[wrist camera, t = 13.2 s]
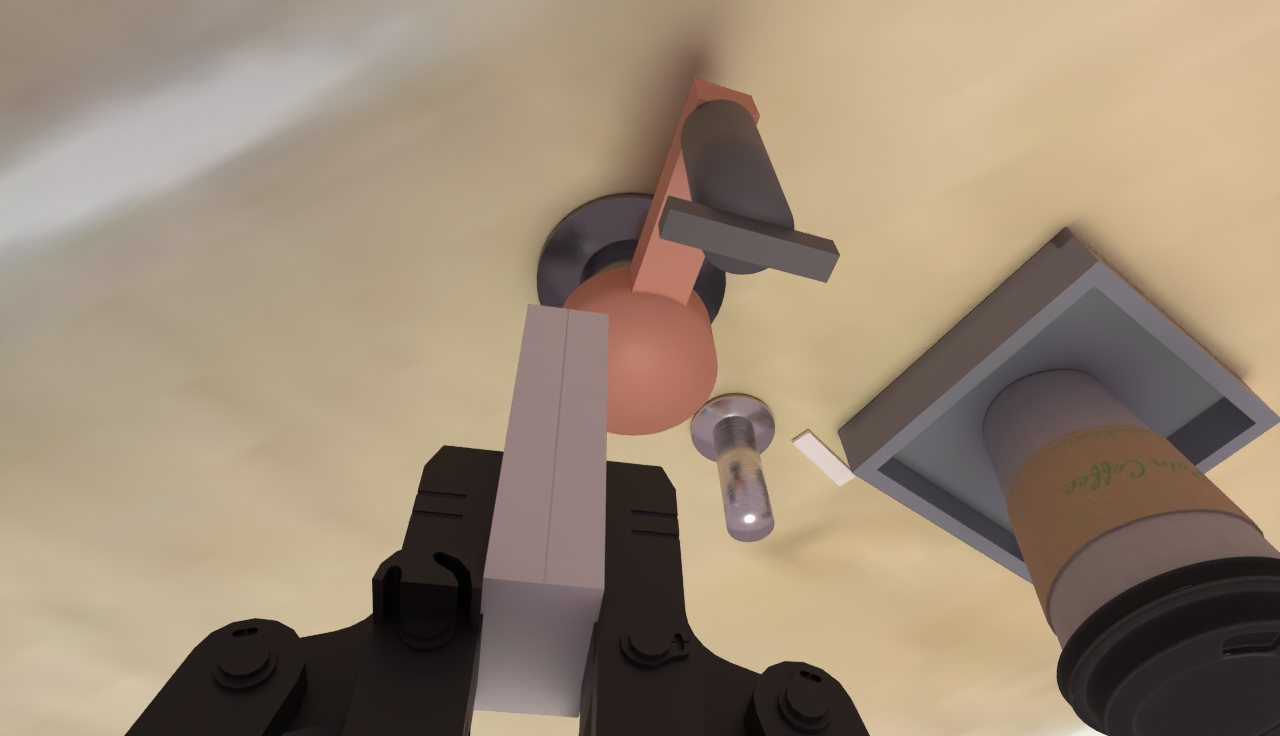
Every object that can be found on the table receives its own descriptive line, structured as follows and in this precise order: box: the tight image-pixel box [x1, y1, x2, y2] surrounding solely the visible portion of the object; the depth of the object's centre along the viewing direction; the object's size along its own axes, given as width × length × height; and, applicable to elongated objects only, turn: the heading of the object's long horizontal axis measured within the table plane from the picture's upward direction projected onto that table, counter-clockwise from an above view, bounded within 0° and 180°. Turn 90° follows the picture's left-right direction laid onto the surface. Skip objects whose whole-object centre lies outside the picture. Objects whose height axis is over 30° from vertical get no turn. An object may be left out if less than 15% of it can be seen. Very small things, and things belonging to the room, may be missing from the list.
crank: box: [562, 78, 840, 435], centre depth 28 cm, size 13×6×10 cm, turn 163°
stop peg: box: [691, 394, 775, 542], centre depth 39 cm, size 4×4×7 cm
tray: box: [838, 227, 1280, 584], centre depth 41 cm, size 14×14×3 cm
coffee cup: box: [983, 370, 1280, 736], centre depth 35 cm, size 9×9×15 cm
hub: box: [537, 193, 726, 324], centre depth 36 cm, size 8×8×4 cm
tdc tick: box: [792, 430, 856, 486], centre depth 43 cm, size 4×1×1 cm, turn 43°
